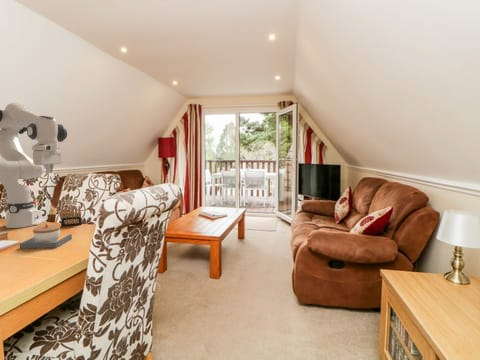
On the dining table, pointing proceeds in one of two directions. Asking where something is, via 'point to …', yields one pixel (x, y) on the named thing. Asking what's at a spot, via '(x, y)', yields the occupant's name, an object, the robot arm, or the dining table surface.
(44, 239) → the lidded jar
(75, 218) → the ammunition clip
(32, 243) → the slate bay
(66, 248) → the dining table surface
